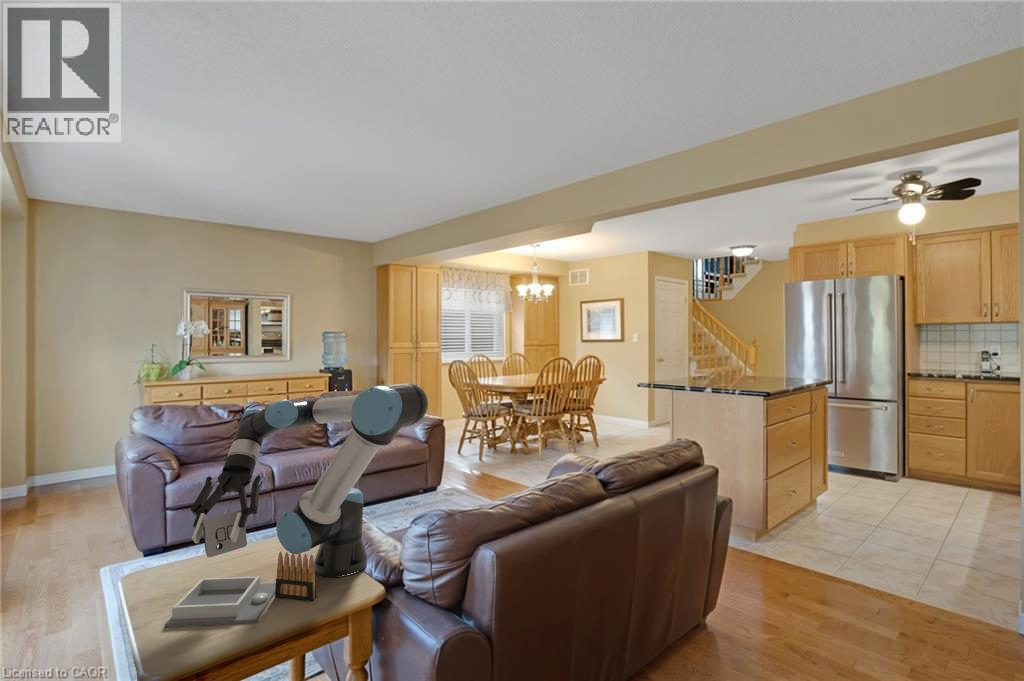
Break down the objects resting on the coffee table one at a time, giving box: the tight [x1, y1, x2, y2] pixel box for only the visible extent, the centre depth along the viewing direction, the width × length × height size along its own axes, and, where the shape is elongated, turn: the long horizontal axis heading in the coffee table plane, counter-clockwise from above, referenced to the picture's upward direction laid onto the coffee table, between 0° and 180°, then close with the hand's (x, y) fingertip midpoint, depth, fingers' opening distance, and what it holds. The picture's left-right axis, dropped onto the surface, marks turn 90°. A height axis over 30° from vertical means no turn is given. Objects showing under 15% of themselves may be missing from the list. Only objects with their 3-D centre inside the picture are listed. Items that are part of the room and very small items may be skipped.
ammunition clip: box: [274, 551, 317, 603], centre depth 131 cm, size 11×2×12 cm, turn 82°
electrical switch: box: [202, 509, 248, 558], centre depth 127 cm, size 9×5×9 cm, turn 142°
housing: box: [164, 575, 276, 628], centre depth 127 cm, size 20×18×4 cm
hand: (214, 540), depth 124 cm, fingers closed on electrical switch, 8 cm apart
